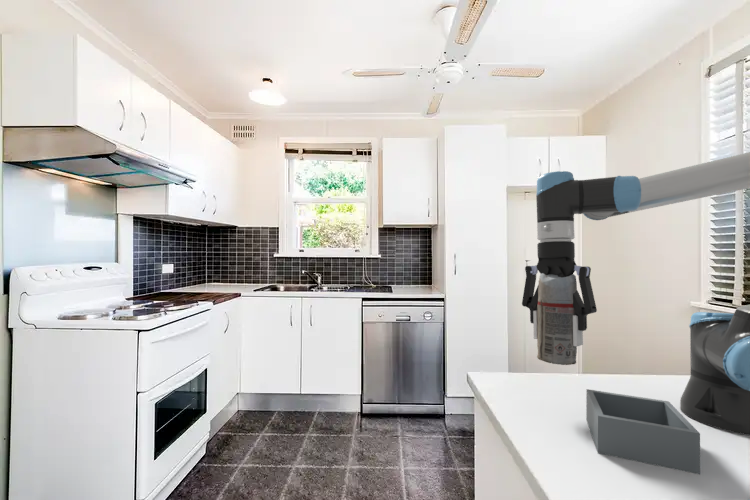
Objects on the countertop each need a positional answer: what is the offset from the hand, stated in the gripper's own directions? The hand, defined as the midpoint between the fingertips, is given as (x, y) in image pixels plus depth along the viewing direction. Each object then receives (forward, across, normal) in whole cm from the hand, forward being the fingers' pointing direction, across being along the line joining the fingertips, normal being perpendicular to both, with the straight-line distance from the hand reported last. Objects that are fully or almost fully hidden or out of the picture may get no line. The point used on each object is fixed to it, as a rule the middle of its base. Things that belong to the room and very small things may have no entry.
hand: (557, 341), depth 79 cm
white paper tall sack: (+5, 0, 0) cm, 5 cm away
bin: (+16, +15, -2) cm, 22 cm away
